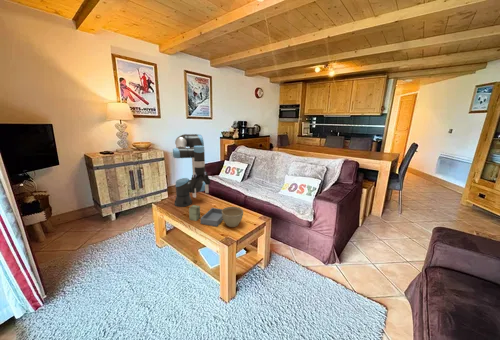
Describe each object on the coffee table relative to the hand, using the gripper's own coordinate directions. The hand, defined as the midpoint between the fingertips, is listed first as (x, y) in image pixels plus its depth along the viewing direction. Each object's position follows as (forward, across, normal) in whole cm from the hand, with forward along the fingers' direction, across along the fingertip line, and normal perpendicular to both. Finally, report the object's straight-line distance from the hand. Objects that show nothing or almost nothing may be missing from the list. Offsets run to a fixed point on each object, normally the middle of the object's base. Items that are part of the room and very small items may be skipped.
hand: (200, 194), depth 151 cm
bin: (+21, +9, -5) cm, 24 cm away
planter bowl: (+23, +10, -21) cm, 33 cm away
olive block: (+21, +1, +8) cm, 23 cm away
